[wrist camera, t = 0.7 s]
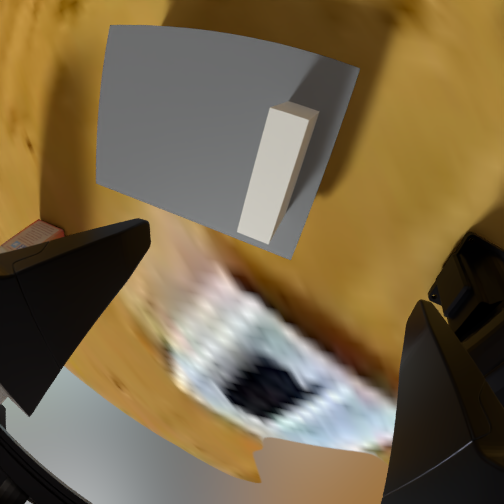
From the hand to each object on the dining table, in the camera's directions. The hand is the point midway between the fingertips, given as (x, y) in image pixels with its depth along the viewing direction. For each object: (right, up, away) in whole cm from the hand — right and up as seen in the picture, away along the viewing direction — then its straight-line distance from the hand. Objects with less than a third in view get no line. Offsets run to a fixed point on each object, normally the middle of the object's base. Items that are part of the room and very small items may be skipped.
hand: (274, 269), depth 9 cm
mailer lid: (-3, +8, +9) cm, 12 cm away
